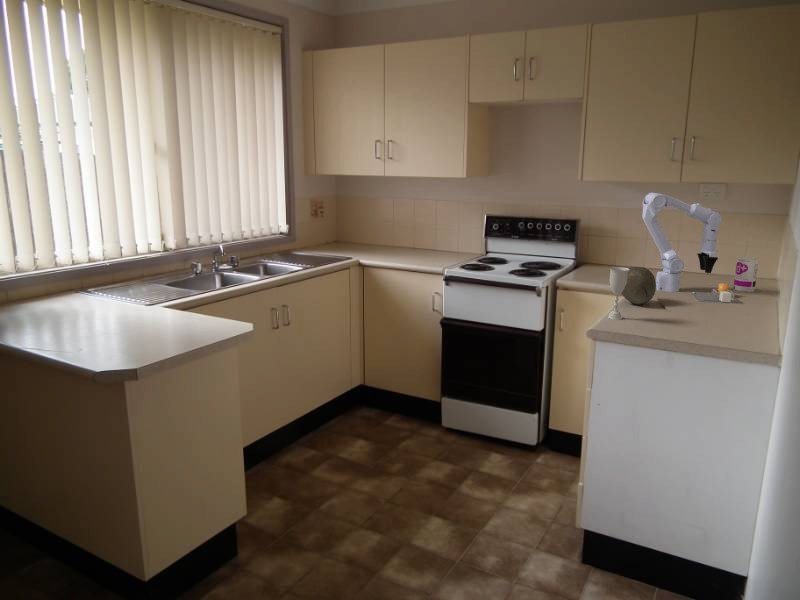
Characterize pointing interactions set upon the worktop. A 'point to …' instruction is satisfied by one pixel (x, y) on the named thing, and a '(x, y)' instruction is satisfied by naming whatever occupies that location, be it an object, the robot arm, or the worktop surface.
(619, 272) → the chalice
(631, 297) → the cantaloupe
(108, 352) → the worktop surface
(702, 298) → the breaker panel
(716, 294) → the frame
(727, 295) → the handle
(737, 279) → the supplement can
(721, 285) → the cap
